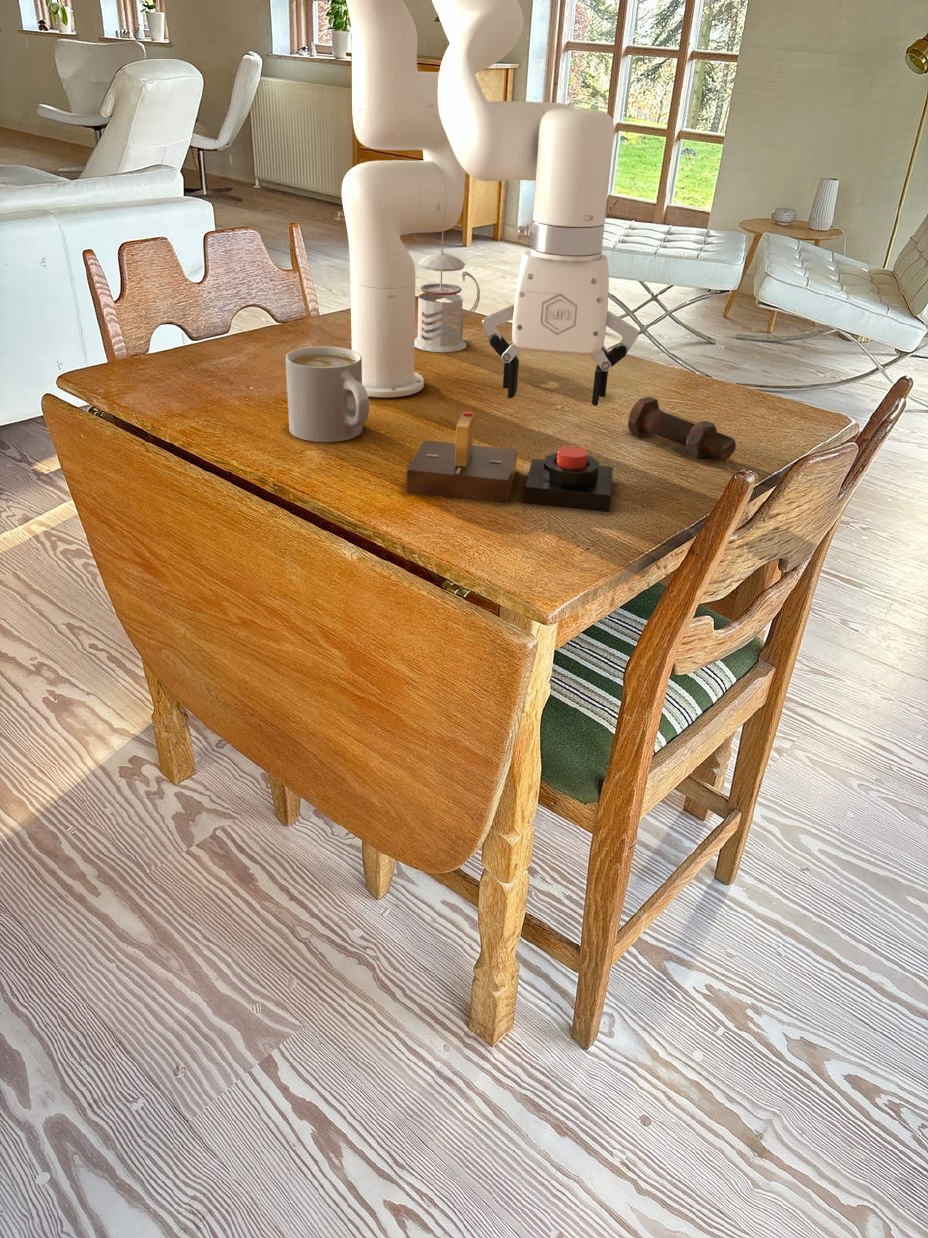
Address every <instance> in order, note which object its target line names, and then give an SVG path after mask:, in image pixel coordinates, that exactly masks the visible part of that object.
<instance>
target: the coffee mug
mask: <svg viewBox="0 0 928 1238" xmlns="http://www.w3.org/2000/svg"><path fill="white" fill-rule="evenodd" d="M285 371H286V373H285V374H286V375H285V376H286V377H285V378H286V392H287V393H286V394H287V410H288V411H287V412H288V429H289V433H290V434H291V435H292V436H293V437H295V438H297V439H301V440H304V441H308V442H314V443H337V442H344V441H349V440H351V439H354V438H356V437H358V436H359V435H361V434H362V432H363V424H365V422H366V421H367V420H368V417H369V413H370V400H369V396H368V394H367V391H366V389H365V387H364V386H363V385H362V358H361V355H360V354H359V353H357V352H355V351H353V350H352V349H351V348H346V347H339V346H328V345H318V346H306V347H301V348H296V349H294V350H291V351H289V352H287V353H286V354H285Z"/></svg>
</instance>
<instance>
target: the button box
mask: <svg viewBox="0 0 928 1238" xmlns="http://www.w3.org/2000/svg"><path fill="white" fill-rule="evenodd" d="M557 453H558V452H553V453H551V454H548V455H547V456H545V457H544V459H538V458H532V459H531V463H530V465H529V466H530V467H529V471H528V475H527V478H526V481H525V485H524V495H523V504H524V505H525V504H526V505H536V506H545V507H553V508H562V509H563V508H564V509H573V510H581V511H582V510H583V511H592V512H601V513H609V512H610V507H611V506H610V505H611V498H612V485H613V471H614V470H613V469H614V467H613V466H609V465H600V462H599V461H598V460H597V459H595V458H594V457H593V456H590V455H588V458H587V466H586V468H584V469H566V468H563V467H560V466H558V465H557V464H556V463H557Z"/></svg>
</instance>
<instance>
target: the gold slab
mask: <svg viewBox="0 0 928 1238" xmlns="http://www.w3.org/2000/svg"><path fill="white" fill-rule="evenodd" d="M474 430H475V413H474V411H473V410H472V411H470V410H463V412H462V414H461V416H460V418H459V420H458V422H457V424H456V427H455V444H456V449H455V466H461V467H466V466H467V464H468V462H469V459H470V457H471V455H472V452H473V445H474V433H475V431H474Z"/></svg>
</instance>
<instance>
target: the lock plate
mask: <svg viewBox="0 0 928 1238" xmlns="http://www.w3.org/2000/svg"><path fill="white" fill-rule="evenodd" d="M455 449H456V443H452V442H443V441H442V442H441V441H434V440H423V441H422V442H421V444H420V446H419V448H418V449H417V451H416V453H415V455H414V457H413V458H412V460H411V462H410V464H409V466H408V468H407V469H406V493H407V494H414V495H421V496H422V495H423V496H430V497H431V496H433V497H442V498H453V499H459V500H460V499H463V500H471V501H478V502H479V501H480V502H488V503H489V502H490V503H499V504H507V503H508V499H509V496H510V493H511V490H512V486H513V482H514V479H515V475H516V473H517V460H518V449H514V448H503V447H493V446H484V445H474V444H473V452H472V455H471V457H470V459H469V462H468V464H467V466H466V467H461V466H455Z"/></svg>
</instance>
